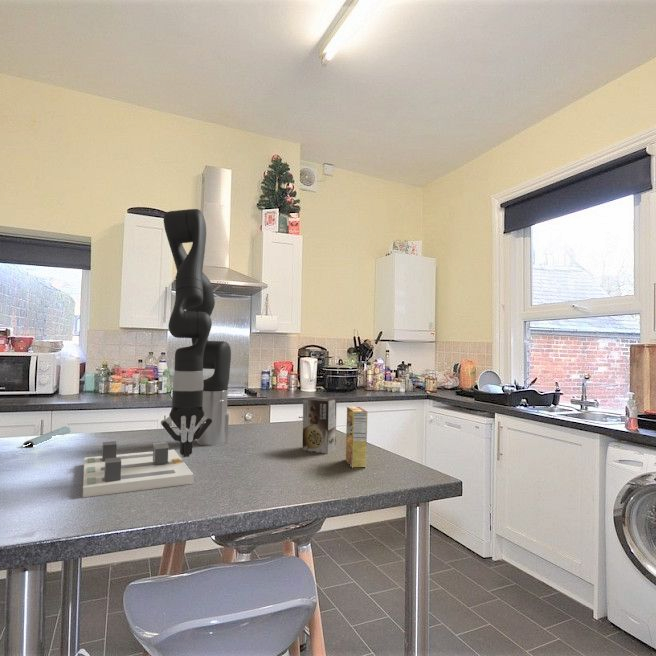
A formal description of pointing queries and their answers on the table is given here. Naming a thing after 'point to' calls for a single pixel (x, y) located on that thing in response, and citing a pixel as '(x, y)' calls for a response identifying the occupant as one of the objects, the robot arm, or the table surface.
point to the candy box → (356, 436)
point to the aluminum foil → (48, 436)
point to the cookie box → (319, 424)
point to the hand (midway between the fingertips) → (185, 456)
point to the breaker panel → (131, 472)
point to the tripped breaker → (160, 453)
